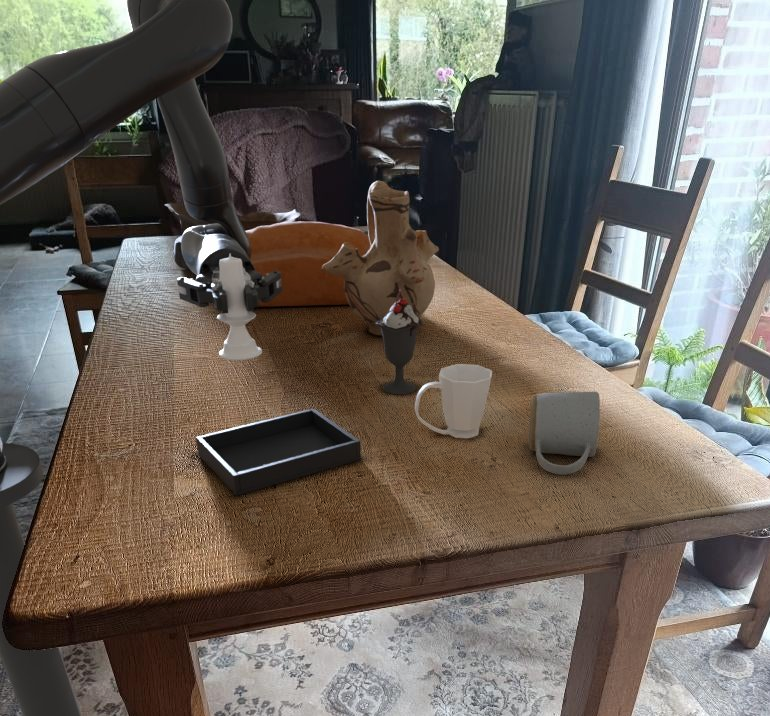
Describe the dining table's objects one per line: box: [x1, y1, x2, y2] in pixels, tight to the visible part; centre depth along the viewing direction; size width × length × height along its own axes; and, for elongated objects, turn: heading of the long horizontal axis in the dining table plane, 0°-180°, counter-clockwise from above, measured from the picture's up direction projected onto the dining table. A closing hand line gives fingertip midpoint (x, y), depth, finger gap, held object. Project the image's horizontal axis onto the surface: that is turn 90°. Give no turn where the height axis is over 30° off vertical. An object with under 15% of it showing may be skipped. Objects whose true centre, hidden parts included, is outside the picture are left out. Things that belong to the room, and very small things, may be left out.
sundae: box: [376, 290, 424, 395], centre depth 102 cm, size 7×7×15 cm
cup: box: [414, 363, 493, 439], centre depth 90 cm, size 7×10×8 cm
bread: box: [246, 221, 371, 308], centre depth 148 cm, size 14×33×16 cm, turn 94°
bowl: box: [163, 202, 301, 272], centre depth 179 cm, size 34×33×15 cm
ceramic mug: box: [527, 391, 601, 476], centre depth 84 cm, size 11×8×8 cm
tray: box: [195, 408, 362, 497], centre depth 86 cm, size 16×12×2 cm
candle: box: [216, 254, 263, 361], centre depth 86 cm, size 5×5×12 cm
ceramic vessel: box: [322, 180, 440, 337], centre depth 126 cm, size 18×19×25 cm
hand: (237, 303), depth 83 cm, fingers closed on candle, 2 cm apart
